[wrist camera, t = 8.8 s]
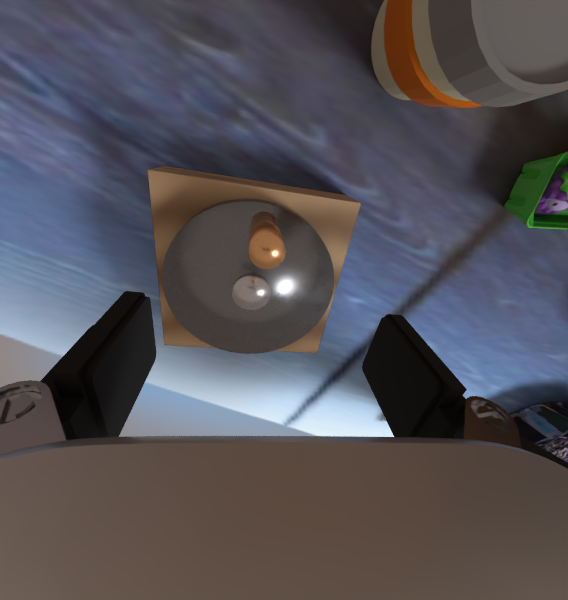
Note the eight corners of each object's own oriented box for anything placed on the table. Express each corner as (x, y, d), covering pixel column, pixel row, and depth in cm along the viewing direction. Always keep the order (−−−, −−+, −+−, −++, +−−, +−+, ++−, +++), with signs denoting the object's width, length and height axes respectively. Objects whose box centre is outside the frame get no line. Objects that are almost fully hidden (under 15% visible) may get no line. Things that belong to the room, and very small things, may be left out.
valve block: (310, 330, 40) (317, 352, 36) (174, 321, 37) (164, 345, 32) (345, 194, 30) (361, 203, 26) (164, 165, 27) (147, 169, 23)
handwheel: (353, 220, 26) (392, 249, 19) (306, 351, 35) (320, 406, 28) (167, 177, 23) (125, 193, 15) (166, 336, 31) (139, 394, 24)
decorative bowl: (541, 444, 72) (582, 483, 63) (453, 463, 68) (484, 508, 59) (597, 380, 58) (659, 419, 50) (491, 400, 55) (539, 446, 46)
